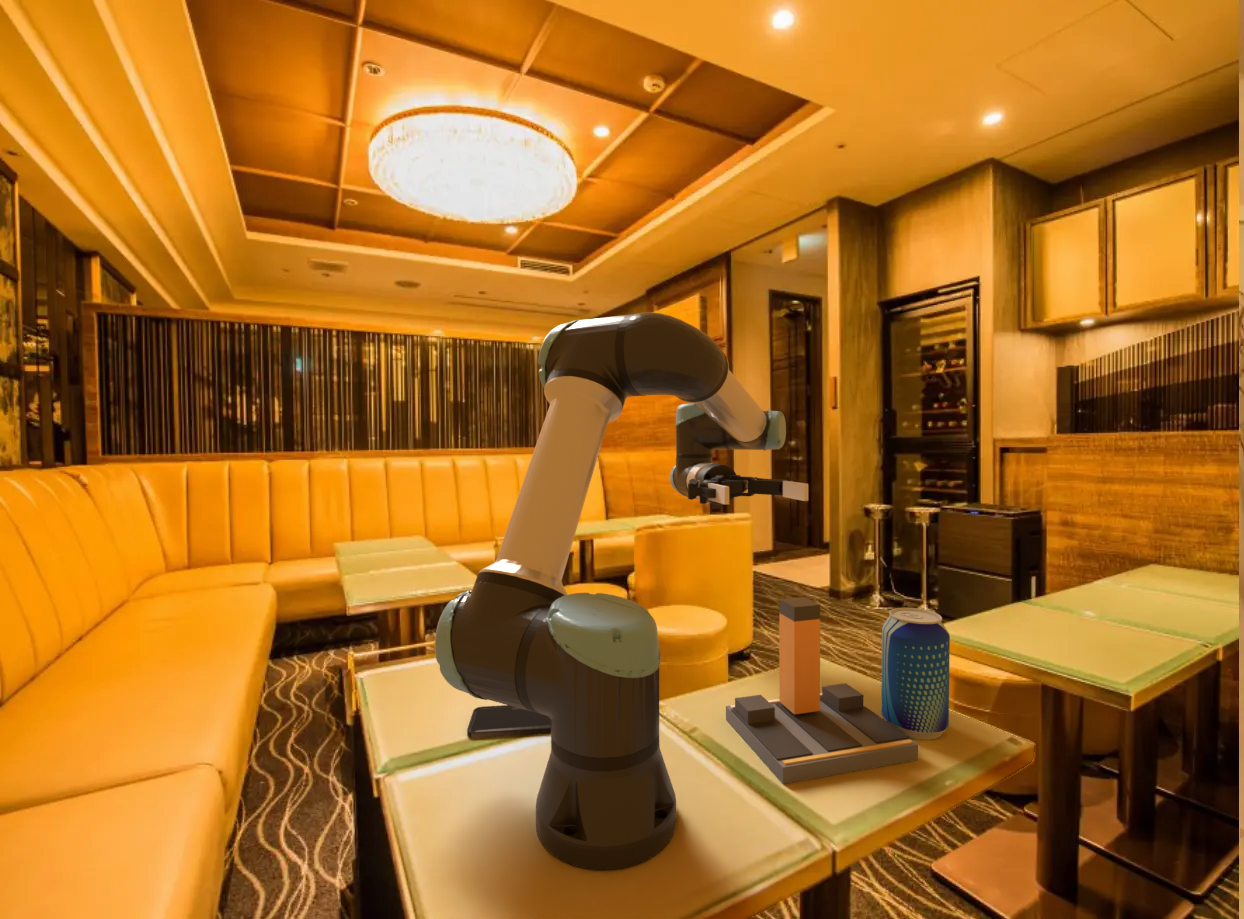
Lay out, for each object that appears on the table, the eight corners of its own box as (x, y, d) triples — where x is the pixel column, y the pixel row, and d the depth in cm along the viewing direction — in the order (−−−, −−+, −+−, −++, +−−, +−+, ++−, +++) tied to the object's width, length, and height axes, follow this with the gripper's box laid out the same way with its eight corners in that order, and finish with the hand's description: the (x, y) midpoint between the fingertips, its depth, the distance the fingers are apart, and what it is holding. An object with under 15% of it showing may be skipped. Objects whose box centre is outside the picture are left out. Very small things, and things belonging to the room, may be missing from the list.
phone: (575, 726, 81) (465, 733, 79) (575, 734, 81) (466, 741, 79) (574, 701, 88) (474, 706, 87) (574, 708, 88) (474, 713, 87)
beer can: (932, 713, 85) (933, 606, 84) (960, 744, 76) (961, 625, 76) (873, 711, 85) (873, 605, 85) (894, 741, 77) (895, 623, 76)
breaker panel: (782, 784, 68) (782, 750, 68) (725, 719, 84) (725, 692, 83) (918, 759, 73) (918, 728, 73) (840, 703, 88) (840, 677, 88)
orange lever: (794, 714, 79) (794, 607, 79) (779, 701, 83) (779, 599, 83) (819, 710, 80) (820, 604, 80) (804, 698, 84) (804, 596, 84)
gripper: (771, 500, 113) (837, 514, 93) (650, 505, 107) (692, 521, 87) (771, 462, 113) (837, 467, 92) (650, 465, 107) (691, 472, 86)
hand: (767, 494), depth 90 cm, fingers open, 13 cm apart
